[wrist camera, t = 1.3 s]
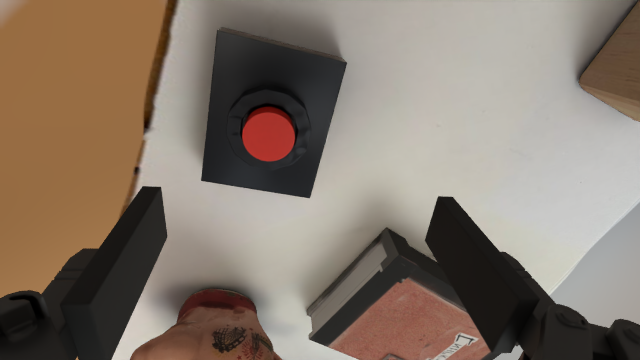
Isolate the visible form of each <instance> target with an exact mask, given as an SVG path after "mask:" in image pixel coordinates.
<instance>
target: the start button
mask: <svg viewBox="0 0 640 360" xmlns="http://www.w3.org/2000/svg"><path fill="white" fill-rule="evenodd" d="M242 139H243V143H244V146H245V148H246V149H247V151H248V152H249V153H250V154H251V155H252V156H254V157H255V158H257V159H260V160H263V161H276V160H279V159H281V158H283V157H285V156H286V155H287V154H288V153H289V152H290V151H291V149H292V148H293V145H294V141H295V133H294V126H293V122H292V120H291V119H290V117H289V116H288V115H287V114H286V113H285V112H284V111H282V110H281V109H278V108H275V107H261V108H258V109H256V110H254V111H253V112H252V113H251V114H250V115H249V116H248V117H247V119H246V121H245V125H244V128H243V133H242Z"/></svg>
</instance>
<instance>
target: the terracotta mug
mask: <svg viewBox="0 0 640 360" xmlns="http://www.w3.org/2000/svg"><path fill="white" fill-rule="evenodd" d="M130 360H282V359H281V358H280V357H279V356H278V355H277V354H276V353H275V352H274V351H273V346H272V343H271V341H270V339H269V338H268V336H267V335H266V333H265V332H264V330H263V329H262V327H261V325H260V323H259V320H258V317H257V310H256V306H255V304H254V303H253V302H252V301H251V300H250V299H249V298H247V297H246V296H244V295H241V294H239V293H236V292H233V291H228V290H220V289H205V290H202V291H199V292H197V293H195V294H193V295H191V296H190V297H189V298H188V299H187V300H186V301H185V303H184V304H183V305H182V307H181V310H180V312H179V315H178V319H177V323H176V324H175V325H174V326H172V327H171V328H170V329H168V330H167V331H166V332H165V333H163V334H162V335H160V336H158V337H156V338H154V339H152V340H150V341H148V342H146V343H145V344H143V345H141V346H140V347H138V348H137V349H136V350H135V351H134V352H133V354H132V356H131V358H130Z"/></svg>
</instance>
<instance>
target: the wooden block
mask: <svg viewBox="0 0 640 360" xmlns="http://www.w3.org/2000/svg"><path fill="white" fill-rule="evenodd" d="M578 83H579V84H580V86H581V87H582V88H583V90H585V91H586V92H588V93H590V94H591V95H593V96H595V97H596V98H598V99H600V100H601V101H603V102H605V103H607V104H608V105H610V106H612V107H613V108H615V109H617V110H618V111H620V112H622V113H623V114H625V115H627V116H628V117H630V118H632V119H633V120H636V121H639V122H640V0H639V1H638V2H637V4H636V5H635V6H634V8H633V9H632V10H631V12H630V13H629V14H628V15H627V17H626V18H625V19H624V21H623V22H622V23H621V25H620V26H619V27H618V28H617V30H616V31H615V32H614V34H613V35H612V36H611V38H610V39H609V40H608V41H607V43H606V44H605V45H604V47H603V48H602V49H601V51H600V52H599V53H598V54H597V56H596V57H595V58H594V60H593V61H592V62H591V64H590V65H589V66H588V67H587V69H586V70H585V71H584V73H583V74H582V75H581V77H580V80H579V82H578Z"/></svg>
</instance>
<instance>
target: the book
mask: <svg viewBox="0 0 640 360" xmlns="http://www.w3.org/2000/svg"><path fill="white" fill-rule="evenodd" d="M307 315H308V316H310V317H311V320H312V330H313V331H312V332H311V333H310V334H309V340H312V341H314V342H317V343H319V344H322V345H324V346H327V347H329V348H332V349H334V350H337V351H339V352H342V353H344V354H347V355H349V356H351V357H354V358H356V359H359V360H493V359H494V358H496V357H497V356H499V355H500V354H501V353H491V351H490V349H489V348H488V346H487V344H486V343H485V341H484V339H483V338H482V336H481V334H480V333H479V331H478V329H477V328H476V326H475V324H474V322H473V321H472V319H471V317H470V316H469V314H468V312H467V311H466V309H465V307H464V306H463V304H462V302H461V301H460V299H459V297H458V296H457V294H456V292H455V290H454V289H453V287H452V285H451V284H450V282H449V280H448V279H447V277H446V275H445V274H444V272H443V270H442V269H441V267H440V265H439V264H438V263H437V262H435V261H433V260H432V259H430V258H428V257H427V256H425V255H423V254H422V253H420V252H418V251H417V250H415V249H413V248H412V247H410V246H409V245H408V243H407V241H406V239H405V238H403V237H401V236H400V235H398V234H397V233H395V232H393V231H392V230H390V229H388V228H386V229H385V230H384V231H383V232H382V233H381V234H380V235H379V236H378V237H377V238H376V239H375V240H374V241H373V242H372V243H371V244H370V245H369V246H368V247H367V248H366V249H365V250H364V251H363V253H362V254H361V255H360V256H359V257H358V258H357V259H356V260H355V261H354V262H353V263H352V264H351V265H350V266H349V267H348V268H347V269H346V270H345V271H344V272H343V273H342V274H341V275H340V276H339V277H338V278H337V280H336V281H335V282H334V283H333V284H332V285H331V286H330V287H329V288H328V289H327V290H326V291H325V292H324V293H323V294H322V295H321V296H320V297H319V298H318V299H317V300H316V301H315V302H314V303H313V304H312V305H311V307H310V308H309V309H308V310H307ZM515 345H516V346H518V345H519V343H518V342H517V343H516V344H515Z"/></svg>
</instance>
